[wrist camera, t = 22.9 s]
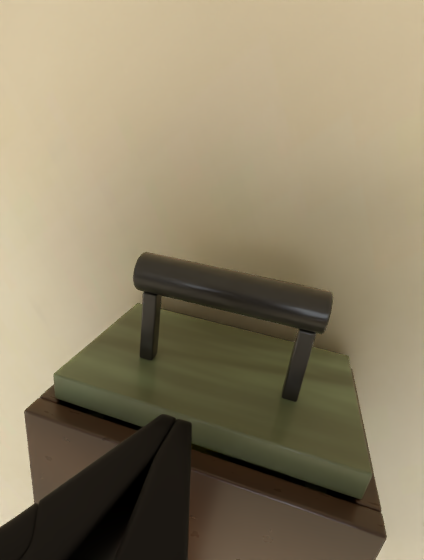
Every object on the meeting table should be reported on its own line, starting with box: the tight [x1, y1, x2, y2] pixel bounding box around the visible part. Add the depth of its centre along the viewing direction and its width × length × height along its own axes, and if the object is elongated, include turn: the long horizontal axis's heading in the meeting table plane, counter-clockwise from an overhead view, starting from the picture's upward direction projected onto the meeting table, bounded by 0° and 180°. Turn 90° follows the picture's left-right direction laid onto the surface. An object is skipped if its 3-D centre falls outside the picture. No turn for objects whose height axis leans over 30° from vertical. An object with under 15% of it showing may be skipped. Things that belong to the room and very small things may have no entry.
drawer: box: [54, 252, 372, 499], centre depth 16 cm, size 17×11×7 cm
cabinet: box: [24, 368, 387, 560], centre depth 17 cm, size 14×13×9 cm
